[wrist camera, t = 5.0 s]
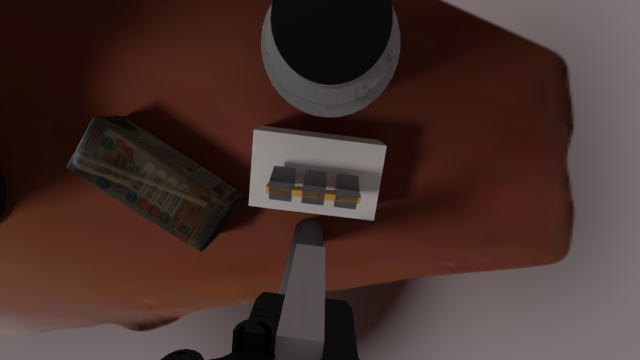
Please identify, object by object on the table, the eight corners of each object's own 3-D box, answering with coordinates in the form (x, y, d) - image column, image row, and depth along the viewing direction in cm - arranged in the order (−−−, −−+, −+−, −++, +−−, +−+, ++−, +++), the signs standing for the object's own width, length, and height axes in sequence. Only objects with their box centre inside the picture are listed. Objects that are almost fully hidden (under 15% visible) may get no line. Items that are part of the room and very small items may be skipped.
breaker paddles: (271, 183, 36) (266, 198, 34) (271, 165, 35) (266, 180, 32) (357, 193, 36) (358, 209, 34) (361, 176, 35) (362, 191, 33)
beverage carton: (124, 111, 41) (87, 112, 35) (248, 192, 44) (235, 208, 37) (97, 160, 43) (58, 170, 36) (219, 236, 45) (202, 258, 39)
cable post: (293, 243, 45) (263, 370, 24) (296, 217, 44) (267, 324, 23) (321, 246, 45) (316, 376, 24) (325, 220, 44) (322, 331, 23)
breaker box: (258, 191, 43) (248, 205, 37) (264, 125, 41) (253, 129, 35) (367, 204, 43) (373, 220, 38) (378, 139, 41) (386, 145, 35)
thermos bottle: (363, 104, 40) (442, 107, 13) (301, 114, 41) (253, 137, 13) (355, 37, 38) (427, -121, 11) (290, 48, 39) (209, -78, 12)
